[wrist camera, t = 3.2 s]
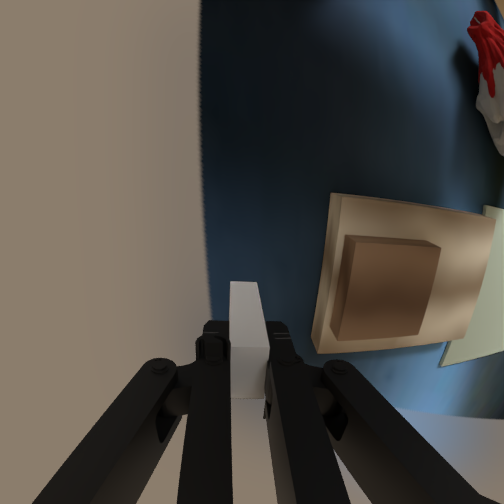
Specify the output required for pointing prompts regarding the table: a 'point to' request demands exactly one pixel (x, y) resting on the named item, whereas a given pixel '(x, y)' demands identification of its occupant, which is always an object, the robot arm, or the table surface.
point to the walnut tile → (383, 287)
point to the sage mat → (485, 305)
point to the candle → (490, 73)
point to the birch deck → (418, 228)
